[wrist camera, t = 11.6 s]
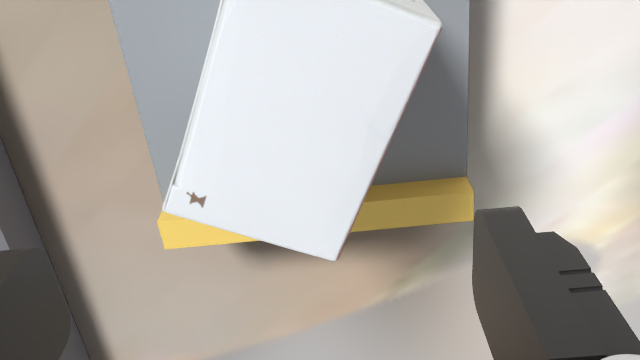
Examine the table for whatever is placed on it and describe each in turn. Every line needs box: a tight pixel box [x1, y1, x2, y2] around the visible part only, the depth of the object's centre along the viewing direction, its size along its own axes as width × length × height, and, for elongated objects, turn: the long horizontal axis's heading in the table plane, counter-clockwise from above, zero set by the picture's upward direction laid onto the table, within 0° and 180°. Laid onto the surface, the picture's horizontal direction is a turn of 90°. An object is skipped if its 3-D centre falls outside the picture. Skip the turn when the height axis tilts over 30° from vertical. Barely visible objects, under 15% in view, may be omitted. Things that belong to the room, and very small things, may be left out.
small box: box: [162, 0, 443, 261], centre depth 20 cm, size 8×6×10 cm
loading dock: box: [108, 0, 474, 249], centre depth 26 cm, size 18×15×6 cm
